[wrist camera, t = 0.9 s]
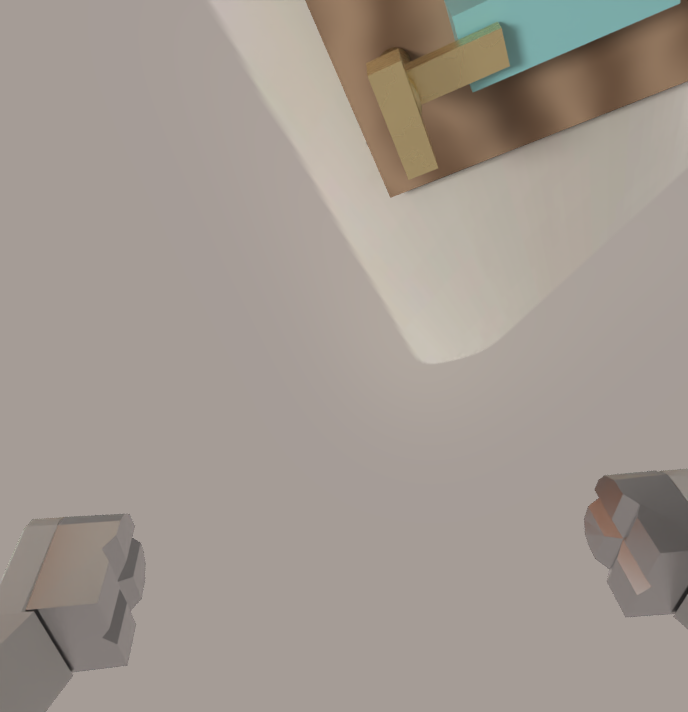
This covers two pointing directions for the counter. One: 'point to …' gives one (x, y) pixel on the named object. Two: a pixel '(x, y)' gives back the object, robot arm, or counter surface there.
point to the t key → (429, 88)
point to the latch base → (502, 99)
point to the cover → (545, 26)
